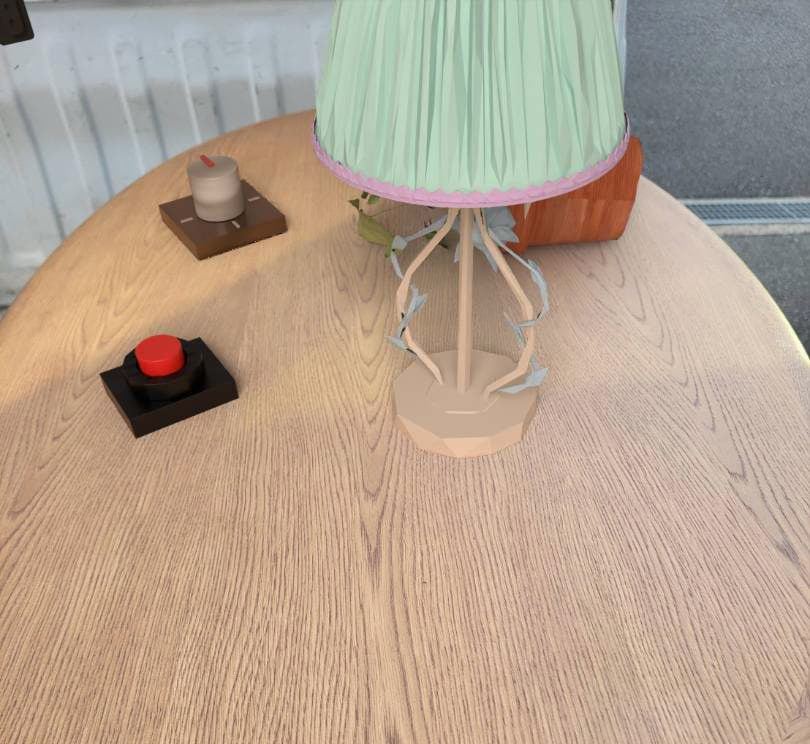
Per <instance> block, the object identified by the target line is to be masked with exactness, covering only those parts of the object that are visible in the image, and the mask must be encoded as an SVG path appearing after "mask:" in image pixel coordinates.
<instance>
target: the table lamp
mask: <svg viewBox="0 0 810 744" xmlns="http://www.w3.org/2000/svg"><path fill="white" fill-rule="evenodd" d="M326 41H327V42H326V46H325V53H324V56H323V61H322V67H321V71H320V76H319V81H318V86H317V91H316V97H315V114H314V118H313V122H312V125H311V130H310V132H311V133H310V136H311V137H310V138H311V142H310V143H311V146H312V149H313V152H314V155H315V156H316V159H317V160H318V161H319V163H320V164H321V165H322V166H323V167H324V169H326V170H327V171H328V172H329V173H330V174H331V175H333V176H334V177H336V178H337V179H339V180H340V181H342V182H343V183H345V184H347V185H349V186H351V187H353V188H355V189H357V190H360V191H362V192H363V191H365V192H368V194H370V195H371V194H373V195H377V196H380V198H385V199H389V200H392V201H396V202H400V203H405V204H408V203H410V204H411V205H419V206H425V205H426V206H425V207H427V206H431V207H433V208H448V211H447V214H448V215H447V214H444V215H442V216H440V217H437V218H434V219H431V225H430V224H429V225H427V226H428V227H426V228H425V227H424V228H423V229H421V230H419V231H418V232H416V233H415V234H412V235H410V236H407V237H404V238H403V236H401V235H399V234H398V235H395V236H394V241H393V243H392V248H391V255H390V257H389V258H390V260H391V262H392V265H393V268H394V271H395V273H396V275H397V276H398V277H399V278H400V279H401V282H400V285H399V287H398V288H397V291H396V317H397V319H398V322H399V325H398V327H397V331H396V335H395V337H394V336H391V335H386V334H385V338H386V340H387V342H388V343H389V344H391V345H392V346H394V347H395V348H397V349H398V350H400V351H403V352H406V353H409V354H410V355H412V356H414V357H416V359H415V360H414V361H413V362H412V363H411V364H410V365H409V366H407V368H405V369H404V370H403V371H402V372H401V373H400V374H399V375H398V376H397V377H396V378H395V379H394V380H393V381H392V425H393V426H394V428H396V429H397V430H398V431H399V432H400V433H401V434H402V435H404V436H405V437H406V438H407V439H408V440H409V441H410V442H411V443H412V444H414V445H415V446H416V447H417V448H418V449H419V450H421V451H427V452H430V453H433V454H437V455H442V456H445V457H449V458H453V459H456V460H457V459H458V460H459V459H460V460H461V459H467V458H468V459H469V458H474V457H475V458H477V457H484V456H490V455H495V454H496V453H499V452H501V451H503V450H505V449H507V448H509V447H511V446H513V445H516V444H517V443H519V442H522V440H523V437H524V435H525V433H527V430H528V428H529V427H530V424H531V423H532V421H533V418H534V416H535V415H536V410H537V401H538V392H537V389H536V387H537V386H538V387H539V386H540V385H541V384H542V383H543V381H544V379H545V378H546V377H547V374H548V372H549V369H550V366H547V367H544V368H540V369H538V368H539V366H538V364H537V362H536V360H535V358H534V356H533V350H534V348H535V344H536V340H537V337H538V336H537V330H536V324H537V323H538V322H539V321H540V320H542V319H543V318H544V316H545V315H546V314H547V313H548V312H549V309H550V308H549V300H548V293H547V289H548V286H547V283H546V280H545V277H544V274H543V272H542V270H541V268H540V266H539V265H537V263H536V262H535V261H533V260H532V259H530V258H527V260H528V262H527V261H526V260H524V259H523V258H521V256H520V255H518V254H517V253H514V252H512V251H511V250H510V249H508V248H507V247H506V246H505V244H506V242H507V241H509V242H518V243H519V239H518V237H517V236H516V235H515V234H514V233H513V231H512V230H513V228H514V226H515V224H516V222H515V220H514V218H513V216H512V214H511V212H510V210H509V208H508V205H515V204H522V203H524V214H525V218H526V215H527V213H528V210H529V207H530V205H531V202H535V201H538V200H543V199H547V198H550V197H554V196H557V195H561V194H564V193H567V192H570V191H573V190H575V189H578V188H580V187H582V186H585V185H587V184H589V183H590V182H592V181H594V180H596V179H598V178H600V177H601V176H602V175H604V174H606V173H607V172H608V171H609V170H610V169H612V168H613V167H614V166H615V165H616V164H617V163H618V162H619V160H620V159H621V158H622V157H623V156H624V153H625V151H626V149H627V146H628V142H629V138H630V135H631V131H632V130H631V129H632V128H631V125H630V119H629V115H628V113H627V112H626V109H625V106H624V89H623V88H624V87H623V70H622V60H621V55H620V50H619V45H618V40H617V34H616V29H615V23H614V15H613V9H612V3H611V0H335V3H334V7H333V13H332V17H331V22H330V26H329V32H328V36H327V40H326ZM459 209H461V212H460V215H459V216H457V217H456V215H457V213H458V211H459ZM451 229H452V230H455V231H457V233H458V234H459V242H458V243H457V245H456V247H455V254H454V259H453V263H457V262H458V261H459V263H458V265H459V266H458V268H459V269H458V271H459V272H458V313H457V314H458V315H457V317H458V318H457V321H458V322H457V349H451V350H446V351H440V352H433V353H428V354H427V353H426V352H425V350H424V349H423V348H422V346H421V345H420V344H419V343H418V342H417V340H416V339H415V338H414V335H413V332H412V328H411V326H410V323H409V321H410V319H411V317H412V315H413V313H414V312H415V313H417V312H418V311H420V310H421V309H422V307H423V306H424V305H425V303H426V301H427V298H428V296H429V292H426V293H424V294H421V295H419V288H418V287H417V286H416V285H414V284H413V283H412V282H411V277H412V274H413V273H414V272H415V271H416V270H417V269H418V268H419V266H420V265H421V264H422V263H423V262H424V261H425V259H426V258H427V257H428V256H429V254H430V253H432V251H433V250H434V249H435V248H436V246H437V245H439V244H438V243H439V242H440V240H443V239H444V237H446V235H447V234H448V232H450V230H451ZM432 231H436V232H437V233H436V234H435V235H434V236H433V238H432V239H431V240H428V242H427V243H426V245H424V246H423V248H422V249H421V250H420V251H419V253H417V255H416V256H415V257H414V258H413V259H412V261H411V262H410V264H409V266H408V268H407V270H406V272H405V274H404V275H403V274H402V271H401V267H400V265H399V262H398V259H397V256H396V255H395V251H396V250H397V249H401V250H403V249H404V248H405V249H406V246H408V242H409V241H412V240H414V239H417V238H419V237H422V236H424V235H425V236H426V234H427V233H430V232H432ZM498 246H500V247H503V248H504V249H505V250H506V251H508V252H509V253H508V254H510V255H511V256H513V257H514V258H515V259H516V260H517V261H519V262H520V263H521V264H522V265H523V266H525V267H526V268H527V269H528V270H529V272H530V275H531V278H532V281H533V282H534V283H535V284H536V285H537V286H538V289H539V292H540V295H541V299H542V303H543V307H542V309H541V310H540V311H539V313H538V314H537V316H536V317H535V316H534V315H535V314H534V309H533V308H534V307H533V305H532V303H531V302H530V300H529V299H528V296H527V295H526V293H525V291H524V290H523V288H522V287H521V285H520V283H519V281H518V280H517V278H516V275H515V274H514V272H513V271H512V269H511V267H510V265H509V264H508V262H507V261H506V258H505V257H504V255H503V253H501V252H500V250H499V248H498ZM474 247H475V248H476V249H478V250H480V251H481V252H483V254H484V255H485V257H486V259H487V261H488V262H489V264H490V265H491V268H492V269H493V271H494V273H495V274H498V269H499V270H500V272H501V274H502V275H503V277H504V279H505V281H506V282H507V284H508V286H509V288H510V289H511V291H512V292H513V294H514V296H515V297H516V299H517V301H518V303H519V306H520V310H521V314H522V319H523V322H519V323H517V324H516V326H515V324H514V323H513V322H512V320H511V319H510V318H509V316H508V315H507V313H506V312H505V311H503V314H504V316H505V319H506V321H507V324H509V327H510V329H511V331H512V333H513V335H514V337H515V339H516V340H517V342H521V343H522V346H523V348H524V349H523V352H522V354H521V357H520V359H519V362H518V363H516V362H515V361H514V360H512V359H511V358H510V357H508V356H506V355H502V354H496V353H492V352H488V351H485V350H479V349H475V348H472V320H473V319H472V318H473V280H474V279H473V278H474V276H473V275H474ZM405 249H404V250H405ZM409 288H410V289H411V291H412V292H411V293H412V297H411V300H410V304H409V306H408V308H407V310H405V303H406V299H407V295H408V290H409ZM418 295H419V296H418ZM522 328H525V332H526V335H527V336H526V339H525V337H524V335H523V331H522ZM403 335H404V338H405V340H406V342H407V345H408V346H406V344H405V342H404V340H402V339H403ZM519 339H520V340H519ZM409 347H410V348H409ZM530 363H531V365H532V369H531V372H530V373H529V372H528V371H527V370H528V367H529V364H530Z"/></svg>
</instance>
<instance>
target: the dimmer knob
mask: <svg viewBox="0 0 810 744" xmlns="http://www.w3.org/2000/svg"><path fill="white" fill-rule="evenodd" d="M186 173H187V179H188V182H189V187H190V192H191V195H192V197H193V201H194V206H195V210H196V214H197V216H198V217H199V218H201V219H203V220H206V221H213V222H219V221H226V220H230V219H233V218H235V217H237V216H239V215H240V214H242V213H243V211H244V209H245V204H244V198H243V192H242V187H241V181H240V180H241V176H240V171H239V165H238V162H237V160H235V159H234V158H232V157H229V156H225V155H211V156H206V155H205V154H201V155H199V158H198V159H196V160H193V161H191V162H190V163H189V164H188V165H187V167H186Z"/></svg>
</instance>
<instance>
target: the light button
mask: <svg viewBox="0 0 810 744" xmlns="http://www.w3.org/2000/svg"><path fill="white" fill-rule="evenodd" d="M176 337H177V336H174V335H170V334H155V335H152V336H149V337H146V338H144V339H143V340H141V341H140V342H139V343H138V344H137V345H136V346H135V347H136V350H135V354H136V357H137V360H138V363H139V366H140V369H141V371H142V372H143V373H144V374H146V375H148V376H165V375H168V374H171V373H173V372H176V371H178V370H179V369H180V368H181V367H183V365H184V362H185V358H184V354H183V350H182V346H181V343H180V341H179V340H178V339H177V338H176Z"/></svg>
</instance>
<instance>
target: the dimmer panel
mask: <svg viewBox="0 0 810 744" xmlns="http://www.w3.org/2000/svg"><path fill="white" fill-rule="evenodd" d="M240 181H241V187H242V192H243V198H244V204H245V209H244V211H243V213H242V214H240V215H239V216H237V217H235V218H233V219H230V220H226V221H219V222H213V221H206V220H203V219H201V218H199V217H198V216H197V214H196V210H195V206H194V201H193V197H192V194H190V195H186V196H183V197H180V198H177V199H174V200H170V201H167V202H164V203H161V204H158V209H159V213H160V217H161V221H162V222H163V223H164V225H166V226H167V228H168V229H169V230H170V231H171V232H172V233H173V234H174V235H175V236H176V238H177V239H178V240H179V241H180V242H181V243H182V244H183V245H184V246H185V247H186V249H187V250H188V251H189V252H190V253H191V254H192V255H193V256H194V258H195V259H196V260H198V261H199V260H201V261H204V260H206V259H205V258H207V259H209V258H208V257H210V258H212V257H211V256H213V257H215V256H214V255H216V256H218V255H217V254H219V255H221V254H220V253H222V254H224V253H223V252H225V253H227V252H226V251H228V252H230V251H229V250H231V251H233V250H232V249H234V250H236V249H235V248H237V249H239V248H238V247H240V248H242V247H241V246H243V247H245V246H244V245H246V244H249V243H252V242H255V241H258V240H261V239H264V238H267V237H270V236H273V237H275V236H274V235H276V234H279V233H282V234H284V233H283V232H285V233H287V232H288V228H287V221H286V215H285V214H284V213H283V212H281V210H279V208H277V207H276V206H275V205H274V204H273V203H271V202H270V201H269V200H268V199H267V198H266V197H264V195H262V194H261V193H260V192H259V191H258V190H257V189H256V188H254V187H253V186H252V185H251V184H250V183H249V182H248V181H247V180H246V179H244V178H243V179H240ZM286 231H287V232H286ZM279 235H280V234H279ZM276 236H277V235H276ZM270 238H271V237H270ZM267 239H268V238H267ZM264 240H265V239H264ZM261 241H262V240H261ZM258 242H259V241H258ZM255 243H256V242H255ZM252 244H253V243H252ZM249 245H250V244H249ZM246 246H247V245H246ZM203 259H204V260H203Z"/></svg>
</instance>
